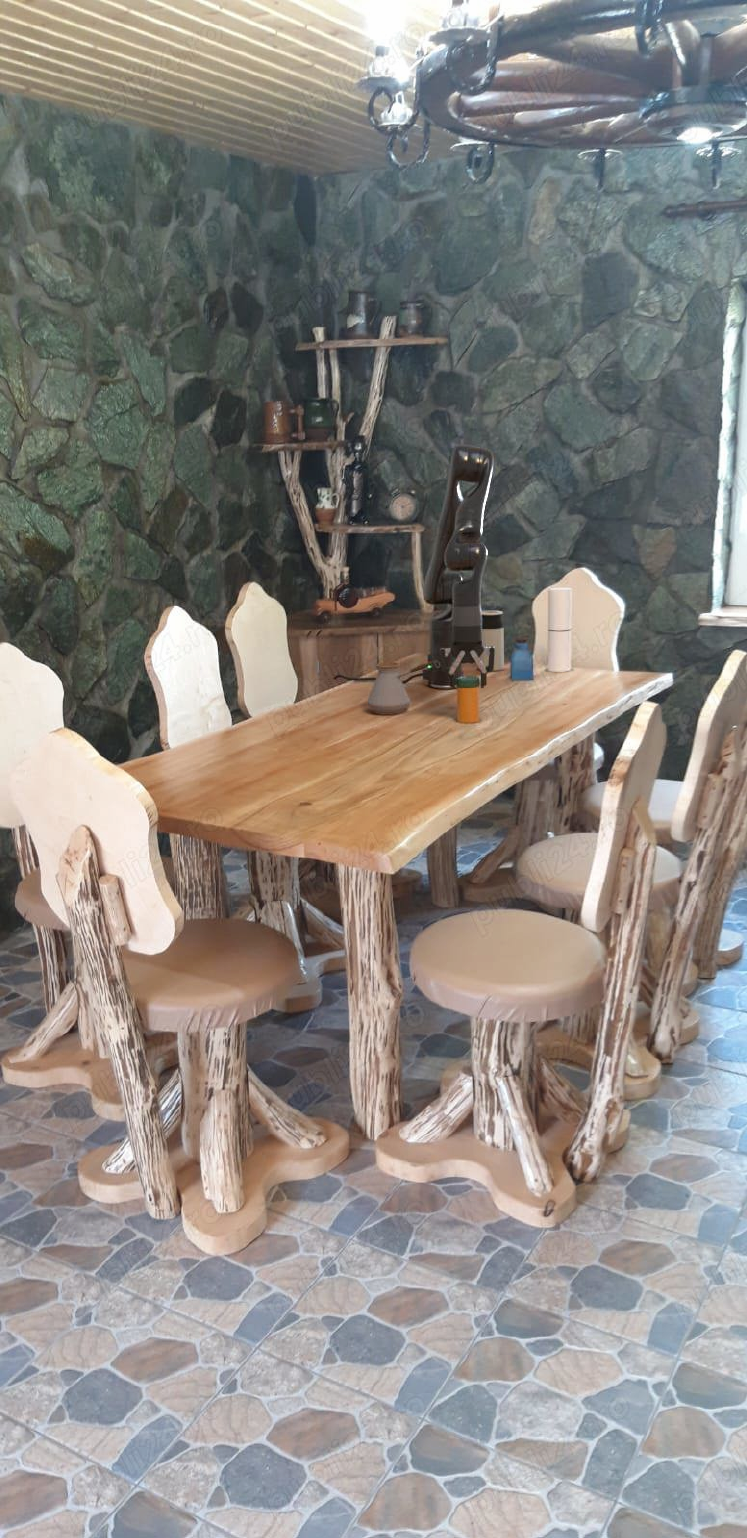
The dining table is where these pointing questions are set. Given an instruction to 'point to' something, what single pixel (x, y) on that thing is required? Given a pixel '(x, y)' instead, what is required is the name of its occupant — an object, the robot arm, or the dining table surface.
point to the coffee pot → (391, 689)
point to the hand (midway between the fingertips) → (467, 687)
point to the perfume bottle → (521, 661)
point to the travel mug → (493, 638)
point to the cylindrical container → (559, 629)
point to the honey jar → (468, 704)
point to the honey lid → (467, 681)
